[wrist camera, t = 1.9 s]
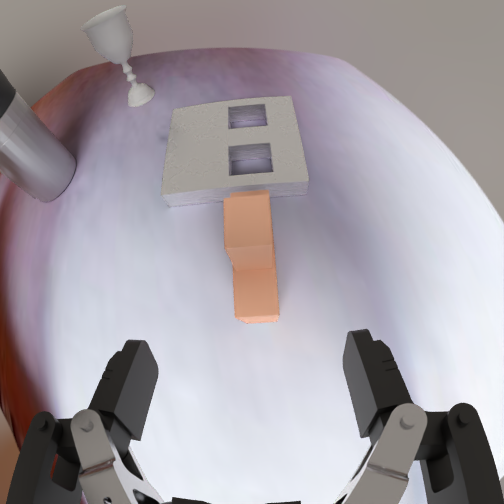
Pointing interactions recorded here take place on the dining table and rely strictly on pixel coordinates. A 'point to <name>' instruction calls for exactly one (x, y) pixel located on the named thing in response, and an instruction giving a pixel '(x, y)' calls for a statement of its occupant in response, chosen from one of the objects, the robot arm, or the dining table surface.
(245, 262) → the clip
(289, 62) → the dining table surface
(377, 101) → the dining table surface
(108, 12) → the chalice
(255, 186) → the plate
